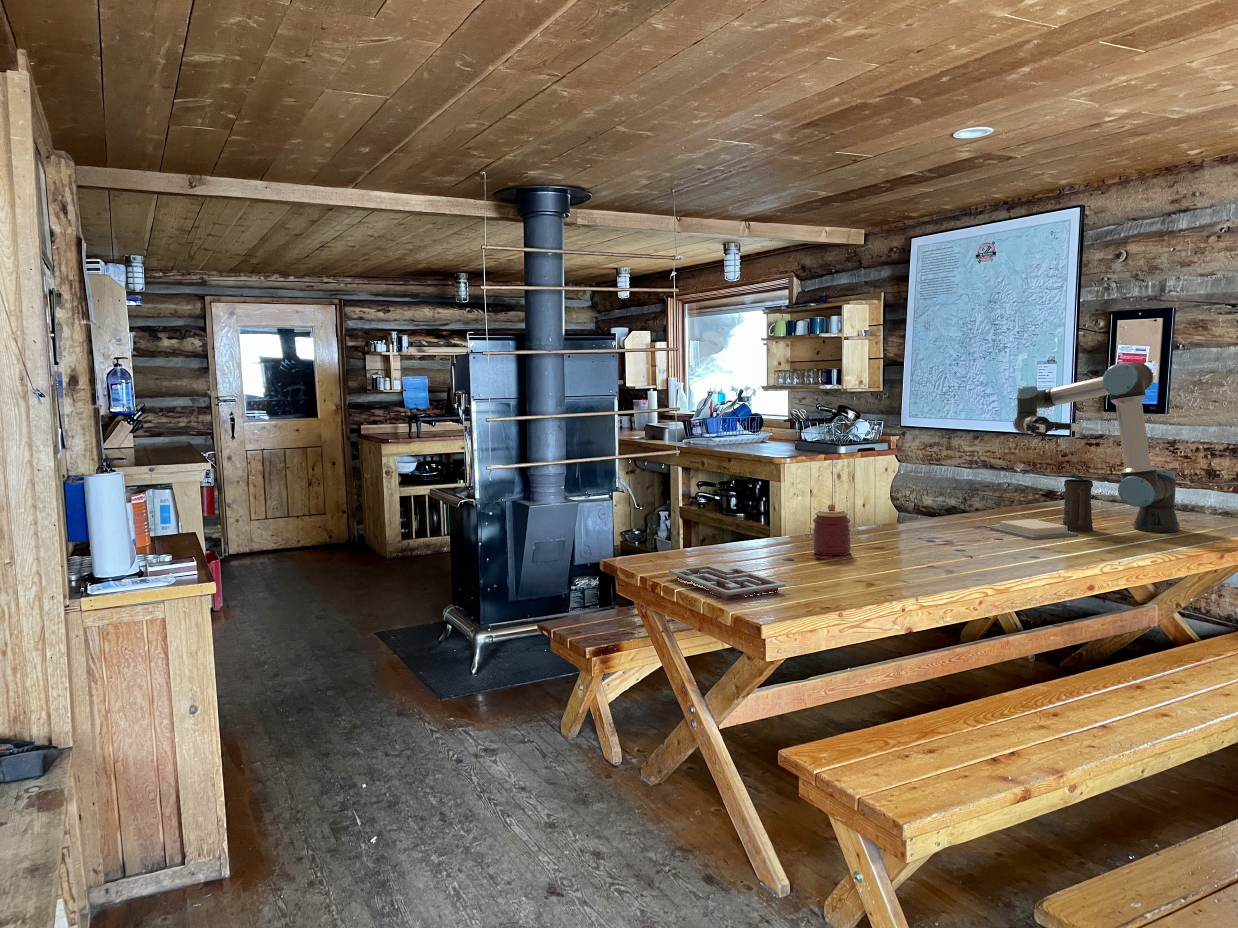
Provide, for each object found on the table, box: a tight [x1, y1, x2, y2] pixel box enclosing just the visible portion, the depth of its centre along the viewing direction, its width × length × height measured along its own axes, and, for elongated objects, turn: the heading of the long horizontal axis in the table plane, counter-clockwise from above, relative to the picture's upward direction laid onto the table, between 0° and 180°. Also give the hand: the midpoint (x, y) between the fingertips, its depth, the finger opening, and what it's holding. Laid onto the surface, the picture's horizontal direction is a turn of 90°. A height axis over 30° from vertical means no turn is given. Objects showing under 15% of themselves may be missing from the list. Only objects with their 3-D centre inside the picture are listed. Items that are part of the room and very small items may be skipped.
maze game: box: [668, 562, 787, 601], centre depth 268 cm, size 35×20×3 cm, turn 25°
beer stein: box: [1062, 478, 1094, 533], centre depth 341 cm, size 15×11×20 cm
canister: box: [812, 503, 852, 557], centre depth 312 cm, size 13×13×18 cm
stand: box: [989, 518, 1079, 540], centre depth 341 cm, size 20×24×4 cm
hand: (1062, 428), depth 335 cm, fingers open, 13 cm apart
